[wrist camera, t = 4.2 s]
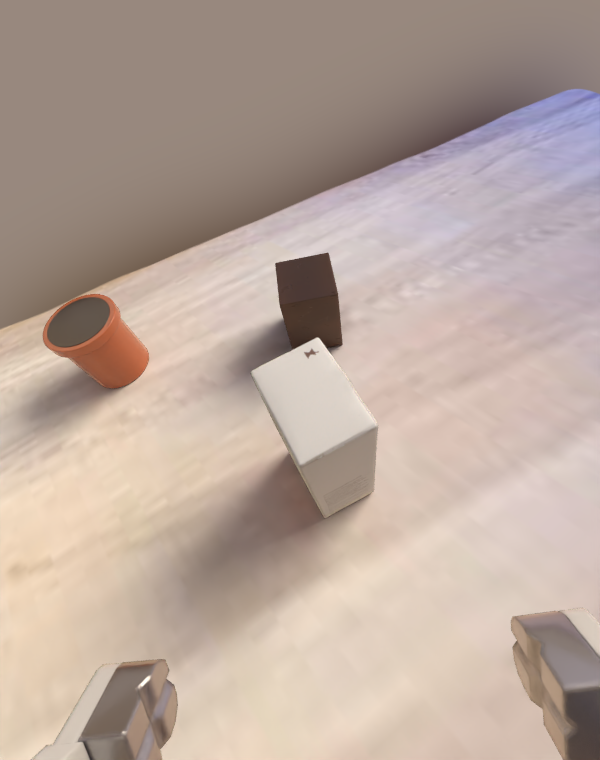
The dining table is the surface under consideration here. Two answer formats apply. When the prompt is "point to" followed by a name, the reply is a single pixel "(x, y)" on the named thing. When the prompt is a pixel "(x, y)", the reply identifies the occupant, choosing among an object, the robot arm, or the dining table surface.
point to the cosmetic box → (321, 424)
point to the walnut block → (309, 300)
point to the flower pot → (96, 340)
